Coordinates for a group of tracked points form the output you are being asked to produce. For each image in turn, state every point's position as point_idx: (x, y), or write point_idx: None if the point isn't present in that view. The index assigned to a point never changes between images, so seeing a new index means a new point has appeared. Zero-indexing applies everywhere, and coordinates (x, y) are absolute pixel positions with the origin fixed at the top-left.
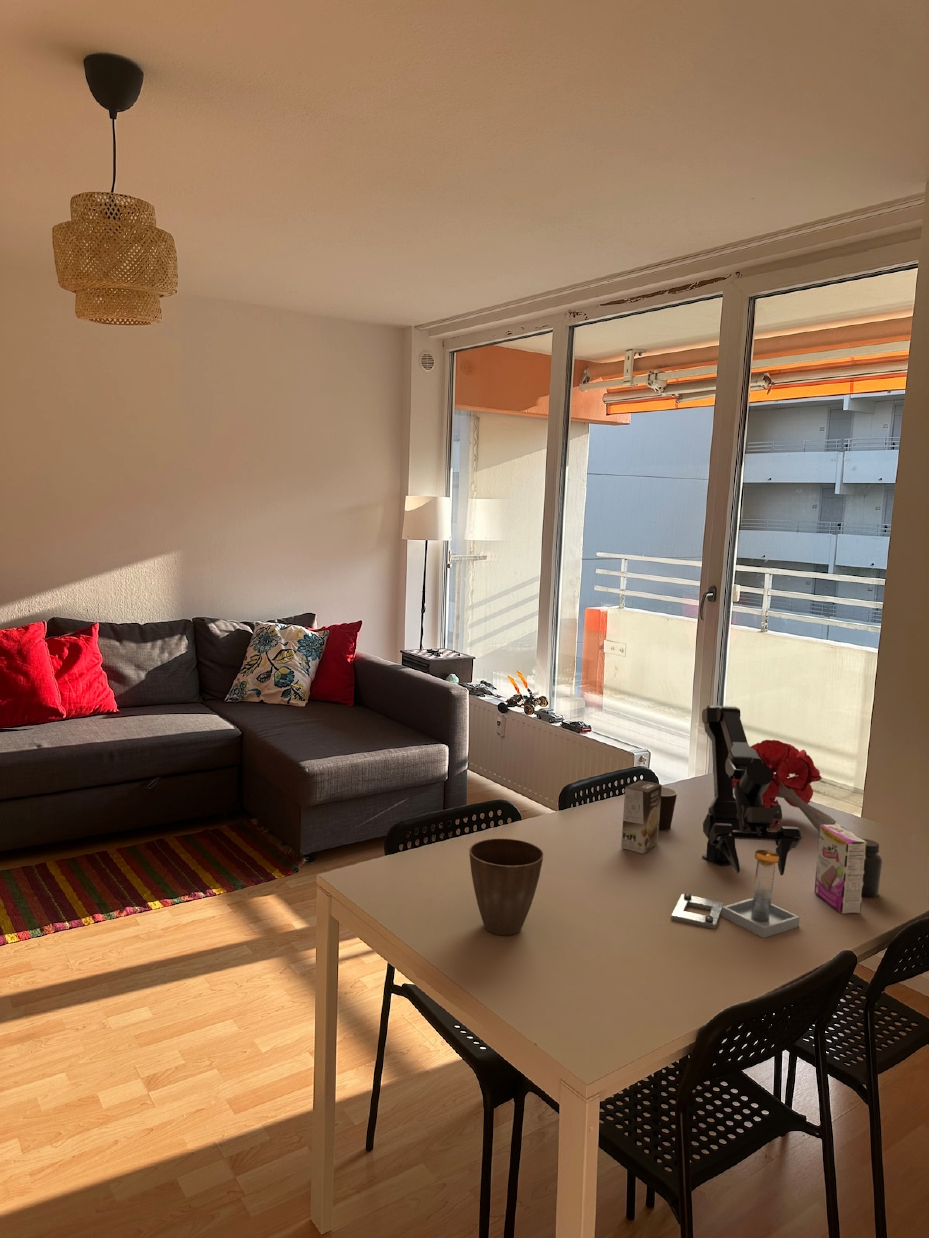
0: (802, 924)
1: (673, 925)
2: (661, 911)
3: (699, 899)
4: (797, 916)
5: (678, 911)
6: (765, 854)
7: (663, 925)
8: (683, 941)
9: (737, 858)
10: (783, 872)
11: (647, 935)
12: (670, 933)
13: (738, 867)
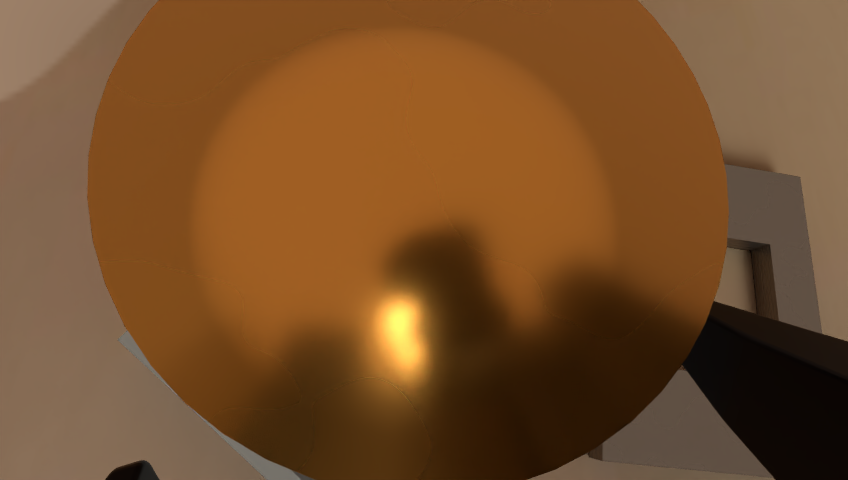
0: (114, 386)
1: (754, 134)
2: (843, 258)
3: (736, 439)
4: (133, 340)
5: (785, 228)
6: (471, 113)
7: (788, 122)
8: (683, 13)
9: (845, 371)
10: (113, 472)
11: (809, 24)
12: (743, 62)
13: (721, 315)
